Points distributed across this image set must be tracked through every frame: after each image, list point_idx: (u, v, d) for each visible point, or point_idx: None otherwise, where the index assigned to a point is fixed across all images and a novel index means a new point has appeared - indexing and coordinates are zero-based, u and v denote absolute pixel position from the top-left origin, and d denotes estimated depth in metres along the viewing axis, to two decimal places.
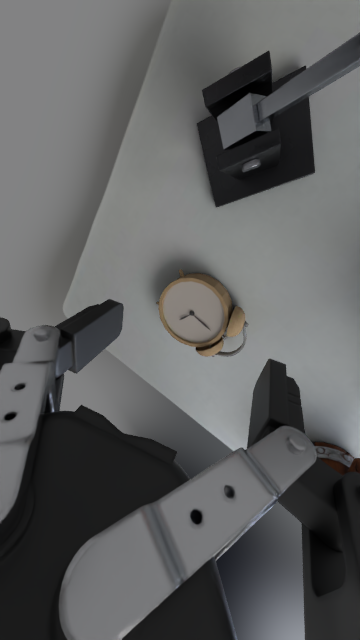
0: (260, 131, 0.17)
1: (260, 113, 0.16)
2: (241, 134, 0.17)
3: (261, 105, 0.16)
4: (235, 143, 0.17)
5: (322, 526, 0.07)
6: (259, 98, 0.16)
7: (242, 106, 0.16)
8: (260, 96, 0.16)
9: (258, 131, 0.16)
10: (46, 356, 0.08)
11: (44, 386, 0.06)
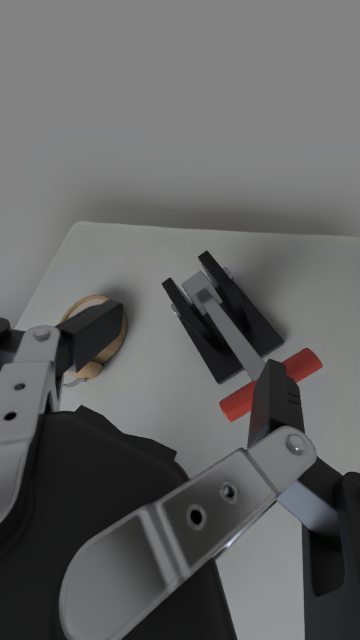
0: (194, 304, 0.20)
1: (203, 297, 0.20)
2: (188, 290, 0.20)
3: (207, 296, 0.19)
4: (184, 289, 0.21)
5: (322, 526, 0.07)
6: (215, 295, 0.20)
7: (203, 282, 0.20)
8: (217, 295, 0.20)
9: (192, 301, 0.20)
10: (46, 356, 0.08)
11: (44, 386, 0.06)
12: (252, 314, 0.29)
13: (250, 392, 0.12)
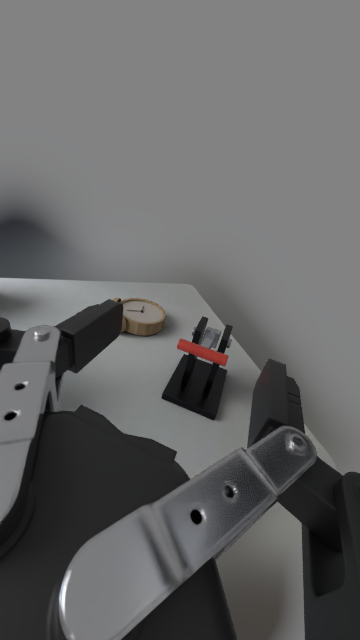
0: None
1: (210, 335, 0.34)
2: (208, 328, 0.36)
3: (213, 336, 0.34)
4: (207, 328, 0.36)
5: (322, 526, 0.07)
6: (215, 340, 0.34)
7: (217, 331, 0.35)
8: (216, 342, 0.34)
9: (205, 331, 0.35)
10: (46, 356, 0.08)
11: (44, 386, 0.06)
12: (216, 391, 0.40)
13: (195, 344, 0.25)
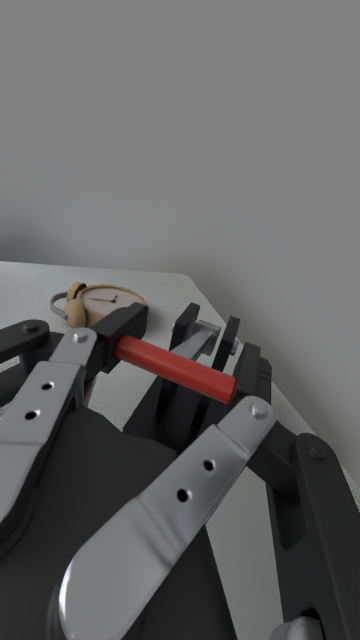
0: (192, 330, 0.20)
1: (202, 332, 0.20)
2: (200, 321, 0.21)
3: (206, 334, 0.20)
4: (198, 321, 0.22)
5: (279, 481, 0.07)
6: (211, 343, 0.20)
7: (215, 327, 0.20)
8: (212, 345, 0.20)
9: (193, 327, 0.20)
10: (79, 358, 0.08)
11: (68, 390, 0.06)
12: (212, 423, 0.25)
13: (157, 348, 0.11)
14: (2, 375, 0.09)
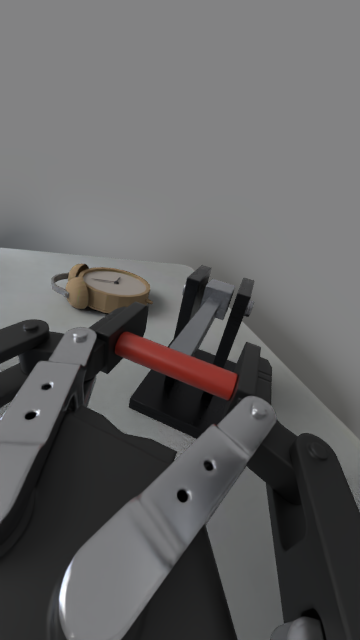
0: (203, 294, 0.19)
1: (213, 296, 0.19)
2: (211, 283, 0.20)
3: (218, 299, 0.18)
4: None
5: (279, 481, 0.07)
6: (223, 306, 0.19)
7: (227, 289, 0.19)
8: (224, 309, 0.19)
9: (204, 291, 0.19)
10: (79, 358, 0.08)
11: (68, 390, 0.06)
12: None
13: (155, 347, 0.10)
14: (2, 375, 0.09)
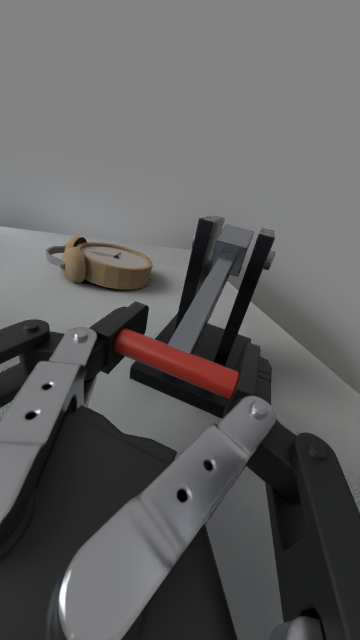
0: (214, 249, 0.17)
1: (226, 252, 0.16)
2: (224, 233, 0.17)
3: (231, 255, 0.16)
4: (222, 230, 0.17)
5: (279, 481, 0.07)
6: (238, 262, 0.17)
7: (242, 241, 0.16)
8: (239, 265, 0.17)
9: (215, 245, 0.16)
10: (79, 358, 0.08)
11: (68, 390, 0.06)
12: None
13: (153, 348, 0.10)
14: (2, 375, 0.09)
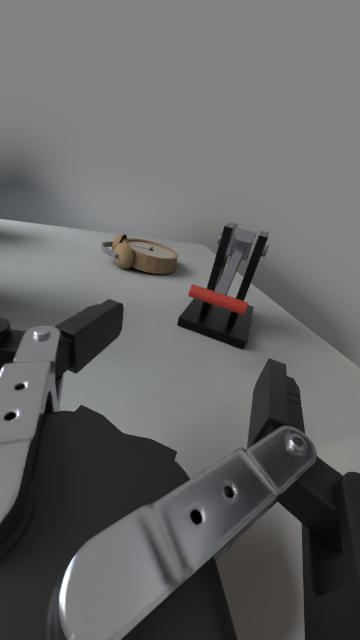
0: (232, 244, 0.28)
1: (239, 246, 0.27)
2: (238, 234, 0.28)
3: (242, 248, 0.27)
4: (237, 232, 0.28)
5: (322, 526, 0.07)
6: (246, 252, 0.28)
7: (249, 239, 0.27)
8: (247, 253, 0.28)
9: None
10: (46, 356, 0.08)
11: (44, 386, 0.06)
12: (244, 322, 0.32)
13: (208, 292, 0.21)
14: None
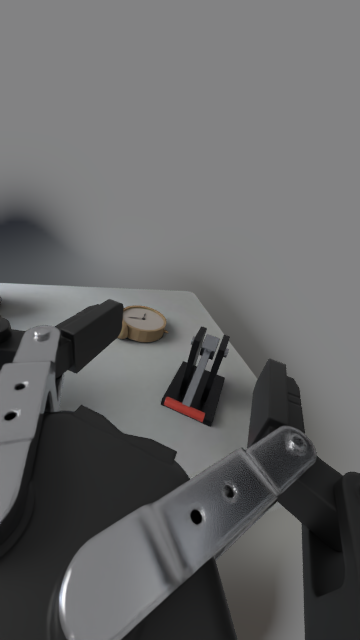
0: (201, 349, 0.37)
1: (206, 352, 0.36)
2: (205, 342, 0.37)
3: (208, 353, 0.36)
4: None
5: (322, 526, 0.07)
6: (211, 355, 0.37)
7: (213, 347, 0.36)
8: (212, 356, 0.37)
9: (201, 348, 0.37)
10: (46, 356, 0.08)
11: (44, 386, 0.06)
12: (214, 398, 0.41)
13: (177, 405, 0.30)
14: None
